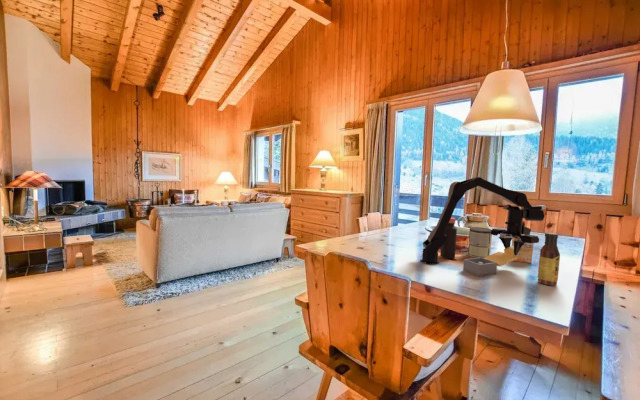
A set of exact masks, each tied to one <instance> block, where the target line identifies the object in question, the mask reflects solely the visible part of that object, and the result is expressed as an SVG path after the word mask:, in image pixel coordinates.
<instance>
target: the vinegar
mask: <svg viewBox="0 0 640 400" xmlns="http://www.w3.org/2000/svg"><path fill="white" fill-rule="evenodd" d="M455 225H456V218H455V217H451V219H450V221H449V223H448V225H447V228H446V230H445V235H447V236H448V237H447V239H446V241H445V245H444V244H443V245H442V247H440V257H441V258H442V259H445V260H446V259H447V260H454V259H455V258H456V248H457V247H456V245H457V234H458V233H457V231H458V228H457V227H456V226H455Z"/></svg>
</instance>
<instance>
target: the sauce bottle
mask: <svg viewBox="0 0 640 400" xmlns="http://www.w3.org/2000/svg"><path fill="white" fill-rule="evenodd" d="M544 238H545V239H544V245H543V246H542V247H541V248H540V251H539V252H540V253H539V259H538V269H537V282H538V283H540V284H541V285H545V286H553V287H555V286H557V284H558V281H559V280H558V279H559V271H560V259H561V253H560V251H559V247H558V239H559V234H558V233H555V232H545V233H544Z"/></svg>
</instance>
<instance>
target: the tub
mask: <svg viewBox="0 0 640 400" xmlns="http://www.w3.org/2000/svg"><path fill="white" fill-rule="evenodd" d="M497 267H498V266H497V262H494V261H490V260H487V259H484V258H481V257H480V258H474V257H471V258H464V259H463V267H462V270H463V272H466V273H468V274H471V275H474V276H477V277H478V278H479V277H487V276H494V275H497Z"/></svg>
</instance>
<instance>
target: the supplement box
mask: <svg viewBox="0 0 640 400" xmlns="http://www.w3.org/2000/svg"><path fill="white" fill-rule="evenodd" d="M515 240H517V238H514V237H513V238H512V240H511V246H514V241H515ZM534 244H535V243H525V244H523V246H522V247H521V249H520V250H519V254H517V255H514V256H517V259H515V260H513V261H512V262H517V263H518V262H519V263H529V264H532V263H533V262H532V261H533V256H534Z"/></svg>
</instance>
